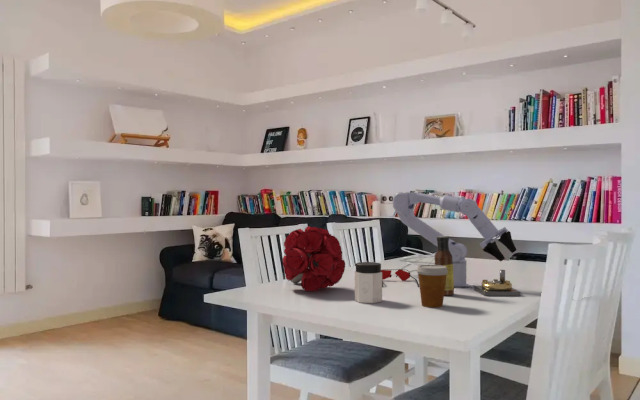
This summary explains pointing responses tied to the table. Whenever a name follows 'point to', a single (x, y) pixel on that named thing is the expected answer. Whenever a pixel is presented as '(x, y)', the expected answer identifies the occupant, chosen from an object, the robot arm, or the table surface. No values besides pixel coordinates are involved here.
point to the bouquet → (313, 258)
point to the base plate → (497, 292)
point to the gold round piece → (497, 283)
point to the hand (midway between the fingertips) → (508, 255)
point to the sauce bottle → (445, 263)
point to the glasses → (400, 273)
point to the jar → (368, 282)
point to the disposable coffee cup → (432, 284)
